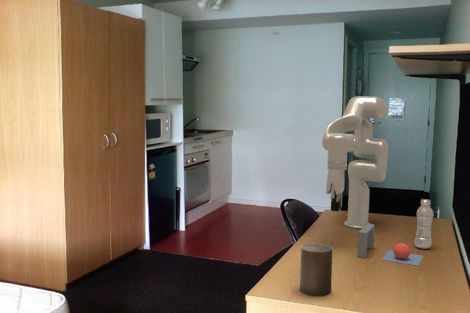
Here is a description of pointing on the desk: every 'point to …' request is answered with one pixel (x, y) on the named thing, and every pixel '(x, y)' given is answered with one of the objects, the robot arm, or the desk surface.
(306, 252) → the pillar candle
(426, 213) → the plastic bottle
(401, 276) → the desk surface
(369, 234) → the bridge
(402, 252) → the ball
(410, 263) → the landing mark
